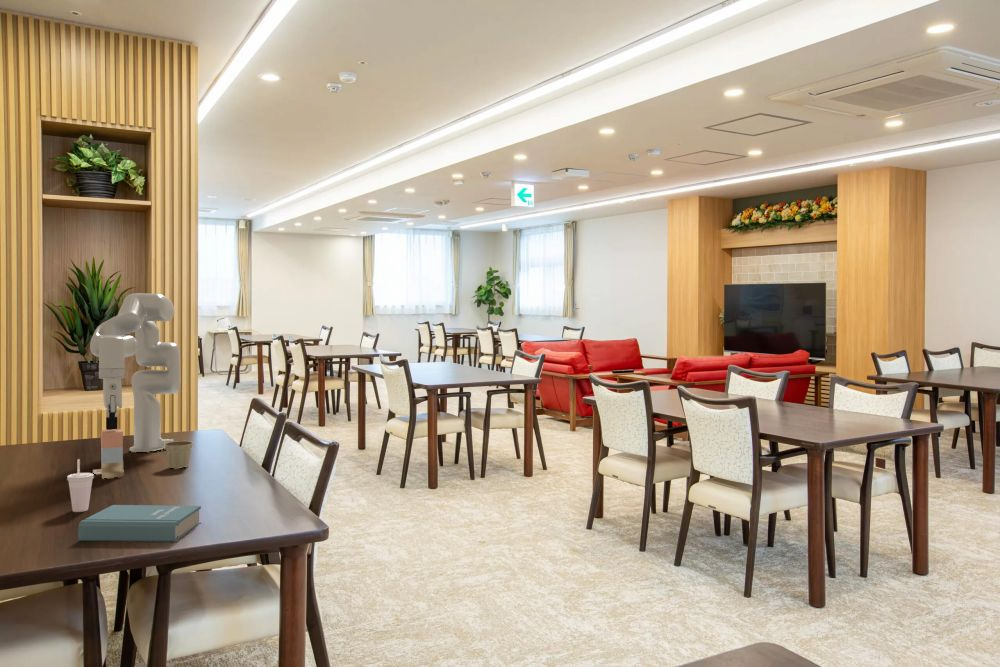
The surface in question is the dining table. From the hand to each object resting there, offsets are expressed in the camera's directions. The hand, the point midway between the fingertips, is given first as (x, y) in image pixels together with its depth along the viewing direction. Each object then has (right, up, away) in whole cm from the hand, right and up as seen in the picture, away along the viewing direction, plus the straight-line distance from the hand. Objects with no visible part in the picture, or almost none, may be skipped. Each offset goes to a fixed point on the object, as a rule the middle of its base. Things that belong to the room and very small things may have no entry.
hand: (111, 429), depth 242 cm
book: (+39, -18, -60) cm, 74 cm away
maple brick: (0, -16, +1) cm, 16 cm away
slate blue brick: (0, -11, 0) cm, 11 cm away
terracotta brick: (0, -6, 0) cm, 6 cm away
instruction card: (-5, -15, +7) cm, 18 cm away
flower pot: (+15, -16, +15) cm, 27 cm away
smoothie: (+13, -17, -41) cm, 46 cm away
